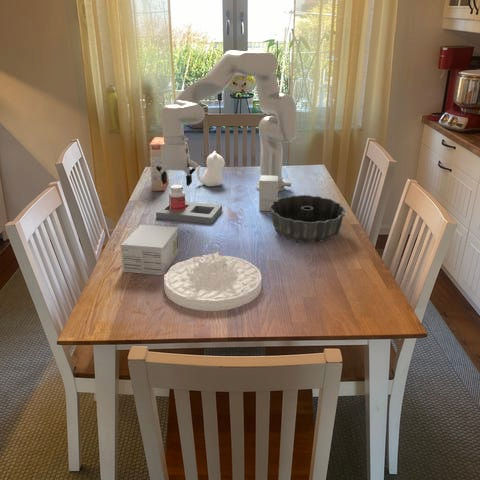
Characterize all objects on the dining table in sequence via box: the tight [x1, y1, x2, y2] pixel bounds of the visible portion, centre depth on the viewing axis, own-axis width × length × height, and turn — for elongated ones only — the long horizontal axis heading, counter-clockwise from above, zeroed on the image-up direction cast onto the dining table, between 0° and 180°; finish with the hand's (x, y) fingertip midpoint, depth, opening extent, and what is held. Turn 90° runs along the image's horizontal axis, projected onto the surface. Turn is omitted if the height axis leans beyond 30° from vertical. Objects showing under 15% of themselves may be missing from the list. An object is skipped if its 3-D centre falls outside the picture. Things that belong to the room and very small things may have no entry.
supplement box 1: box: [120, 224, 180, 276], centre depth 164 cm, size 17×13×9 cm
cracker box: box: [149, 136, 170, 192], centre depth 231 cm, size 14×6×21 cm, turn 179°
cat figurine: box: [196, 150, 226, 187], centre depth 235 cm, size 9×12×15 cm
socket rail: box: [155, 200, 223, 225], centre depth 203 cm, size 22×14×2 cm, turn 76°
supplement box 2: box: [258, 175, 279, 212], centre depth 208 cm, size 7×7×13 cm
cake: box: [163, 251, 262, 312], centre depth 150 cm, size 28×28×10 cm
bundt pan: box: [270, 194, 346, 244], centre depth 185 cm, size 26×26×10 cm
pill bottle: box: [168, 184, 186, 212], centre depth 203 cm, size 6×6×11 cm
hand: (176, 183), depth 200 cm, fingers open, 9 cm apart
